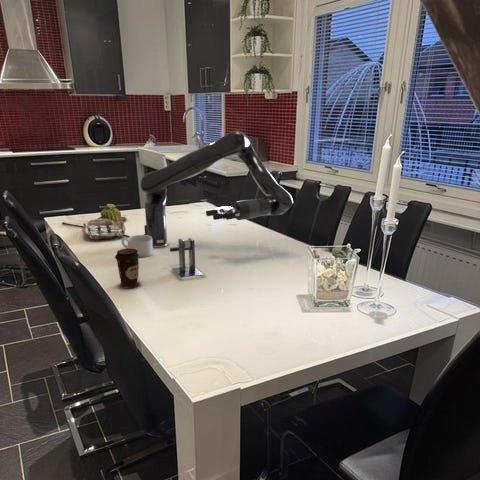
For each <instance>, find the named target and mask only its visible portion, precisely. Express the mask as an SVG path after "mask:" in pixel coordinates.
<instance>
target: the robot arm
mask: <svg viewBox="0 0 480 480" xmlns="http://www.w3.org/2000/svg"><path fill="white" fill-rule="evenodd" d="M233 155H235V156H236V157H238V158H239V159H240V160H241V161H242V162H243V164H244V165H245V166H246V168H247V169H248V171H249V172H250V174H251V176H252V178H253V180H254V182H255V183H256V185H257V186H258V187H259V190H261V191H262V193H263V194H264V195H265V197H263V198H262V197H261V198H256V199H244V200H239V201H238V200H237V201H235V202H233V206H232V207H231V206H227V205H225V206H219V207H214V208H213V209H209V210H206V211H205V216H206V217H212V219H213V220H214V221H217V220H227V221H228V220H233V219H234V220H237V221H243V220H249V219H254V218H258V217H264V216H281V215H284V214H286V213H287V212H288V211H289V210H290V209H291V208H292V206H293V204H294V200H293V197H292V195H291V194H290V193H289V192H288V191H287V190H286V189H285V188H284V187H283V186H281V185H280V184H279V183H278V182H277V180H276V179H275V178H274V176H273V175H272V174H271V172H270V171H269V170H268V169H267V167H266V166H265V164H264V163H263V162H262V161H261V159H260V158H259V156H258V155H257V153H256V150H255V149H254V147H253V146H252V144H251V142H250V139H249V137H248V136H247V134H245V133H244V132H242V131H240V130H232V131H230V132H227V133H226V134H225V135H223V136H222V137H220V138H218V139H217V140H215V141H214V142H212V143H210V144H207V145H204V146H202V147H200V148H197V149H195V150H193V151H191V152H188V153H186V154H184V155H183V156H180V157H179V158H178V159H176V160H174V161H173V162H171V163H169V164H167V165H166V166H165V167H163V168H160V169H158V170H155V171H151V172H147V173H145V174H144V175H143V176H142V178H141V180H140V182H139V183H140V184H139V185H140V188H141V190H142V192H144V193H145V194H146V199H145V201H144V214H145V215H144V216H145V224H144V233H143V235H148V236H151V237H152V245H153V248H165V247H167V246H168V231H167V230H168V229H167V214H166V203H167V187H168V186H170V185H172V184H175V183H178V182H181V181H184V180H186V179H190V178H193V177H195V176H197V175H199V174H201V173H203V172H204V171H207V170H208V169H209V168H211V167H212V166H213V165H215V163H217V162H218V161H221V160H223V159H225V158H228V157H230V156H233ZM266 197H267V198H266ZM268 197H272V198H273V199H271V200H270V199H269V198H268ZM61 225H64V226H65V225H66V226H71V227H76V228H82V229H83V226H84V225H81V224H74V223H68V222H61ZM98 230H100V229H99V228H98ZM107 231H108V232H110V233H111V231H109V230H107ZM131 236H132V235H131ZM131 236H130V235H127V234H124V235H122V236H121V237H124V238H125V237H126V238H129V237H131Z"/></svg>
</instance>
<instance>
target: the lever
mask: <svg viewBox="0 0 480 480" xmlns="http://www.w3.org/2000/svg"><path fill="white" fill-rule="evenodd" d="M183 241H184V247H185V251H189V247H190V246H191V245H190V240H188V239H187V240H185V239H184V240H183ZM169 252H170V253H171V252H172V253H174V252H179V246H177V247H169Z"/></svg>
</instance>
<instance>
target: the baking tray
mask: <svg viewBox="0 0 480 480" xmlns="http://www.w3.org/2000/svg"><path fill="white" fill-rule="evenodd" d="M82 226H83V228H82V229H81V232H83V233H84V234H86V235H87V236H88V237H89V238H90V239H91V240H97V241H98V240H107V239H114V238H115V237H117V238H118V239H119V238H121V237H123V236H122V235H125V233H126V232H125V231H126V230H127V228H126V226H125V222H124V221H119V222H117V223H116V222H114V221H112V220H111V219H98V218H96V219H92V220H91V219H90V220H89V221H88V222H86V223H83V225H82ZM98 228H99V229H100V230H98ZM107 230H109V231H111V233H110V232H108V231H107Z"/></svg>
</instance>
